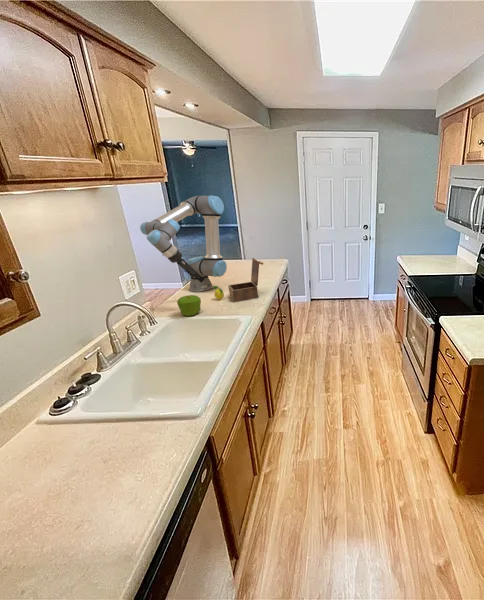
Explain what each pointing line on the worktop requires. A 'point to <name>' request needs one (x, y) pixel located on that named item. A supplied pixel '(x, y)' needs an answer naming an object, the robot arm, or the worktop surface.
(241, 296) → the chest
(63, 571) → the worktop surface
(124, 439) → the worktop surface
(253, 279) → the lid
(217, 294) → the lemon
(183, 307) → the apple
